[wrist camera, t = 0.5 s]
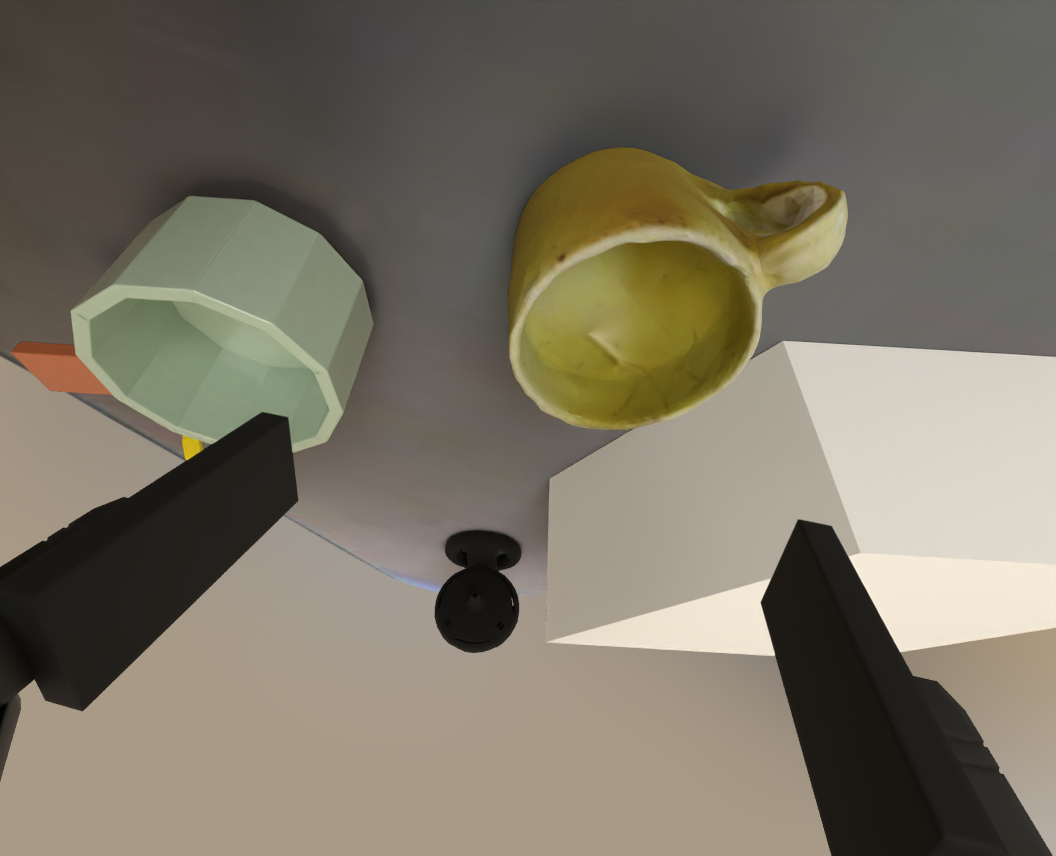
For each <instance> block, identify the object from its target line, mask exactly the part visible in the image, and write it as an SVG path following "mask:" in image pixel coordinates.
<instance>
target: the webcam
mask: <svg viewBox="0 0 1056 856" xmlns="http://www.w3.org/2000/svg"><path fill="white" fill-rule="evenodd" d="M461 549H464V550H465V551H466V552H467V553H465V552H463V551H461ZM499 550H500V551H503V552H505V553H506V554H505V555H502V556H498V557H496V554H497V553H498V551H499ZM445 554H446V556H447V557H448V558H449V560H451V561H452V562H453V563H455V564H456V565H459V566H461V567H464V568H466V569H463V570H461V571H459V572H457V573H455V574H454V575H453V576H451V577H450V578H449V579H448V580H447V581H446V582H445V584H444V585H443V586H442V588H441V590H440V592H439V594H438V596H437V600H436V604H435V620H436V624H437V628H438V629H439V631H440V633H441V634H442V636H443V638H444V639H445V640H446V641H447V642H448V643H449V644H451V645H453V646H455V647H457V648H458V649H461V650H463V651H465V652H471V653H477V652H484V651H488V650H490V649H493V648H495V647H498V646H499V645H501V644H502V643H503V642H504V641H505V640H506V639H507V638H508V637H509V636H510V635H511V633H512V631H513V630H514V628H515V626H516V624H517V621H518V615H519V601H518V595H517V593H516V590H515V588H514V586H513V585H512V583H511V582H510V581H509V580H508V579H507V578H506V577H505V575H503V574H501V573H500V572H498V571H500V570H504V569H507V568H511V567H513V566H515V565H516V564H517V563H518V562H519V560H520V558H521V550H520V547H519V545H518V544H517V543H516V542H515V541H514V540H512V539H510V538H509V537H506V536H504V535H501V534H496V533H492V532H483V531H471V532H464V533H460V534H457V535H455V536H453V537H452V538H450V539H449V540H448V541H447V543H446V546H445ZM511 597H512V598H511ZM512 599H513V604H514V606H512Z"/></svg>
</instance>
